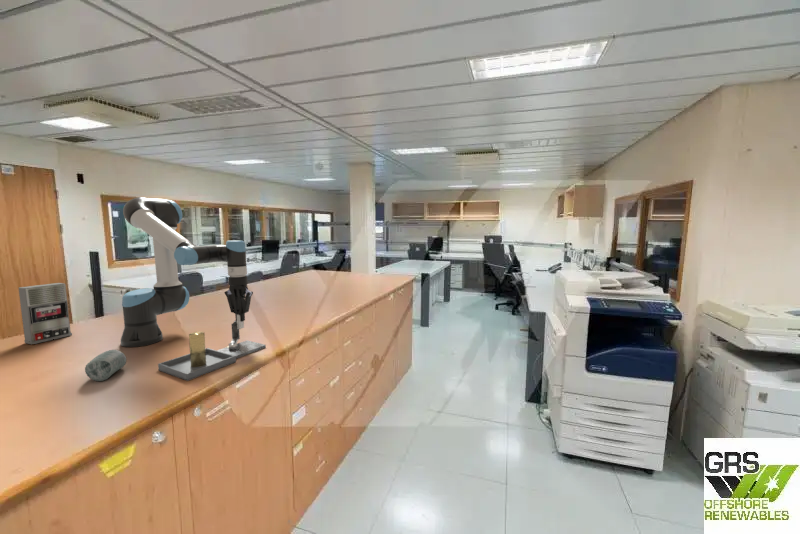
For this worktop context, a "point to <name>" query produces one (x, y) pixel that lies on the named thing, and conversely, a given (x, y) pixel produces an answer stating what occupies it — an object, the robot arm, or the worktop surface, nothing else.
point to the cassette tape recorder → (44, 312)
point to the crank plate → (243, 348)
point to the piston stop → (197, 349)
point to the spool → (105, 365)
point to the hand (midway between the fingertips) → (240, 328)
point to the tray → (184, 370)
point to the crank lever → (234, 336)
